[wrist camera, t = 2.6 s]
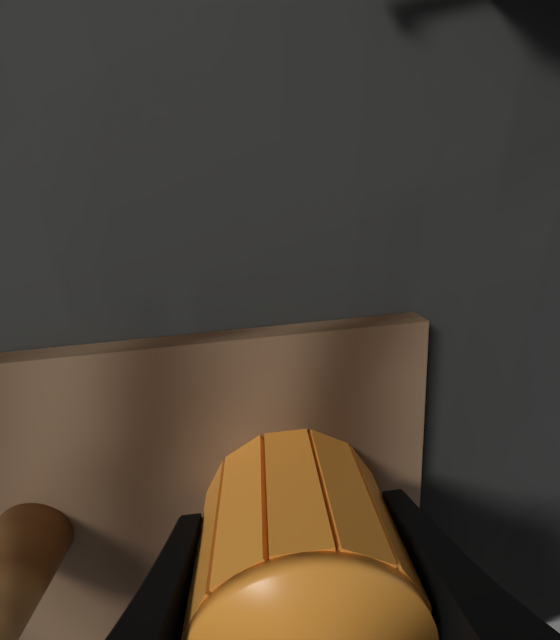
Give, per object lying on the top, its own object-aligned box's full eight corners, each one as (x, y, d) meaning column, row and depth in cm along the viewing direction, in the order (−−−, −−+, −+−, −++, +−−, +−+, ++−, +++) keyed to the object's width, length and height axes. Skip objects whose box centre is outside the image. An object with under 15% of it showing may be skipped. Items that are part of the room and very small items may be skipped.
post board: (414, 312, 11) (514, 373, 7) (404, 582, 15) (465, 735, 10) (-173, 369, 10) (-475, 478, 6) (-33, 639, 14) (-162, 829, 10)
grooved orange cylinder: (372, 421, 11) (447, 553, 7) (372, 552, 13) (432, 725, 8) (196, 440, 11) (158, 589, 6) (220, 572, 12) (201, 760, 8)
